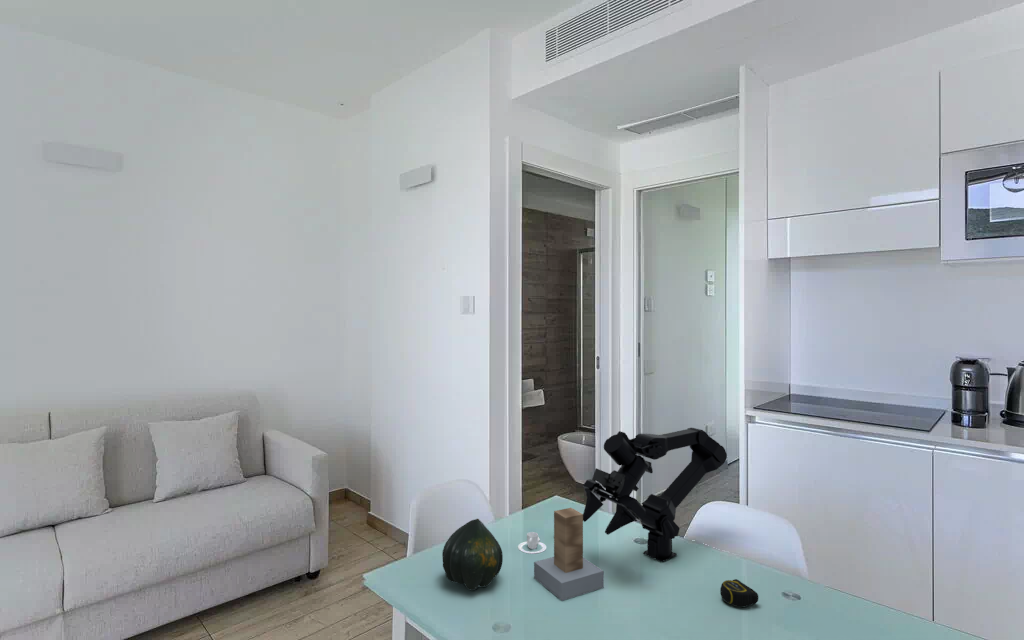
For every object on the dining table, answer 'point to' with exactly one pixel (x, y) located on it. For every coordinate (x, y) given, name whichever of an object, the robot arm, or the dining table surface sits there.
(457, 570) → the squash
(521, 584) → the dining table surface
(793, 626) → the dining table surface
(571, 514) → the walnut pillar
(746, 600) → the tape measure
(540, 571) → the grey base block
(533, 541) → the teacup and saucer
